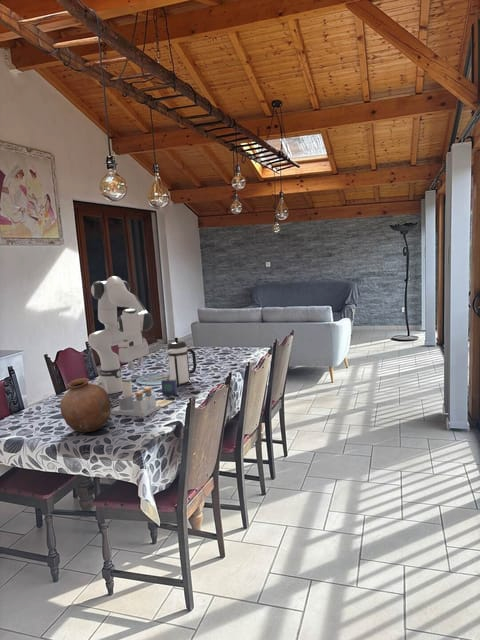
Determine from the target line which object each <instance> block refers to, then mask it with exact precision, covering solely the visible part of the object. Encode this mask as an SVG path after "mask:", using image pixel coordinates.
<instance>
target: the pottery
mask: <svg viewBox="0 0 480 640" xmlns="http://www.w3.org/2000/svg"><path fill="white" fill-rule="evenodd" d="M89 382H90V379H89V378H87V377H82V378H81V377H80V378H77V379H73V380H72V381H70V382H69V383H68V384H67V387H68V388H69V389H68V390H67V391H66V392H65V393H64V395H63V396H62V398H61V400H60V405H59V407H60V413H61V417H62V418H63V420H64V421H65V423H66V425H67V426H69V428H71V429H72V430H73V431H75V432H77V433H78V432H79V433H90V432H91V433H92V432H95V431H98V430H99V429H101V428H103V427H104V426H106V424H107V422H108V421H109V419H110V418H111V415H112V414H111V410H112V409H111V408H112V406H111V399H110V396H109V394H107V392H106V391H105V390H104V389H103V388H101V387H100V386H97V385H94V384H93V383H89Z"/></svg>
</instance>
